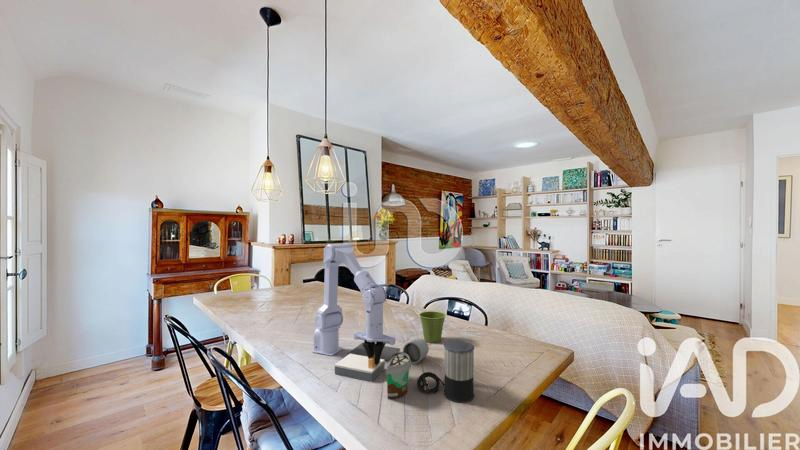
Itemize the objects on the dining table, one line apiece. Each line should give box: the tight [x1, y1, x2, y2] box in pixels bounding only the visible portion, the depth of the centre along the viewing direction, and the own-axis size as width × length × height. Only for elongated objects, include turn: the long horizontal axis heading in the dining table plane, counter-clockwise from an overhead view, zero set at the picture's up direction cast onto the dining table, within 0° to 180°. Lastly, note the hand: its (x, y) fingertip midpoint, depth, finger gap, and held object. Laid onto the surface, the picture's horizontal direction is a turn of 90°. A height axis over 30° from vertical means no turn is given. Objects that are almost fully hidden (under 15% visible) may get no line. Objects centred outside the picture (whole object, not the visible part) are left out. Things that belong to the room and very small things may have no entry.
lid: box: [334, 354, 385, 374], centre depth 110 cm, size 14×10×4 cm
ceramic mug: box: [402, 338, 430, 365], centre depth 120 cm, size 11×8×8 cm
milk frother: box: [416, 339, 476, 403], centre depth 96 cm, size 14×16×15 cm
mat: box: [347, 342, 401, 362], centre depth 127 cm, size 17×12×1 cm
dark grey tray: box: [334, 361, 386, 382], centre depth 110 cm, size 14×10×3 cm
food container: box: [386, 350, 412, 400], centre depth 97 cm, size 12×6×10 cm, turn 168°
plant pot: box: [418, 310, 447, 343], centre depth 139 cm, size 12×12×11 cm
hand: (374, 362), depth 108 cm, fingers closed on lid
